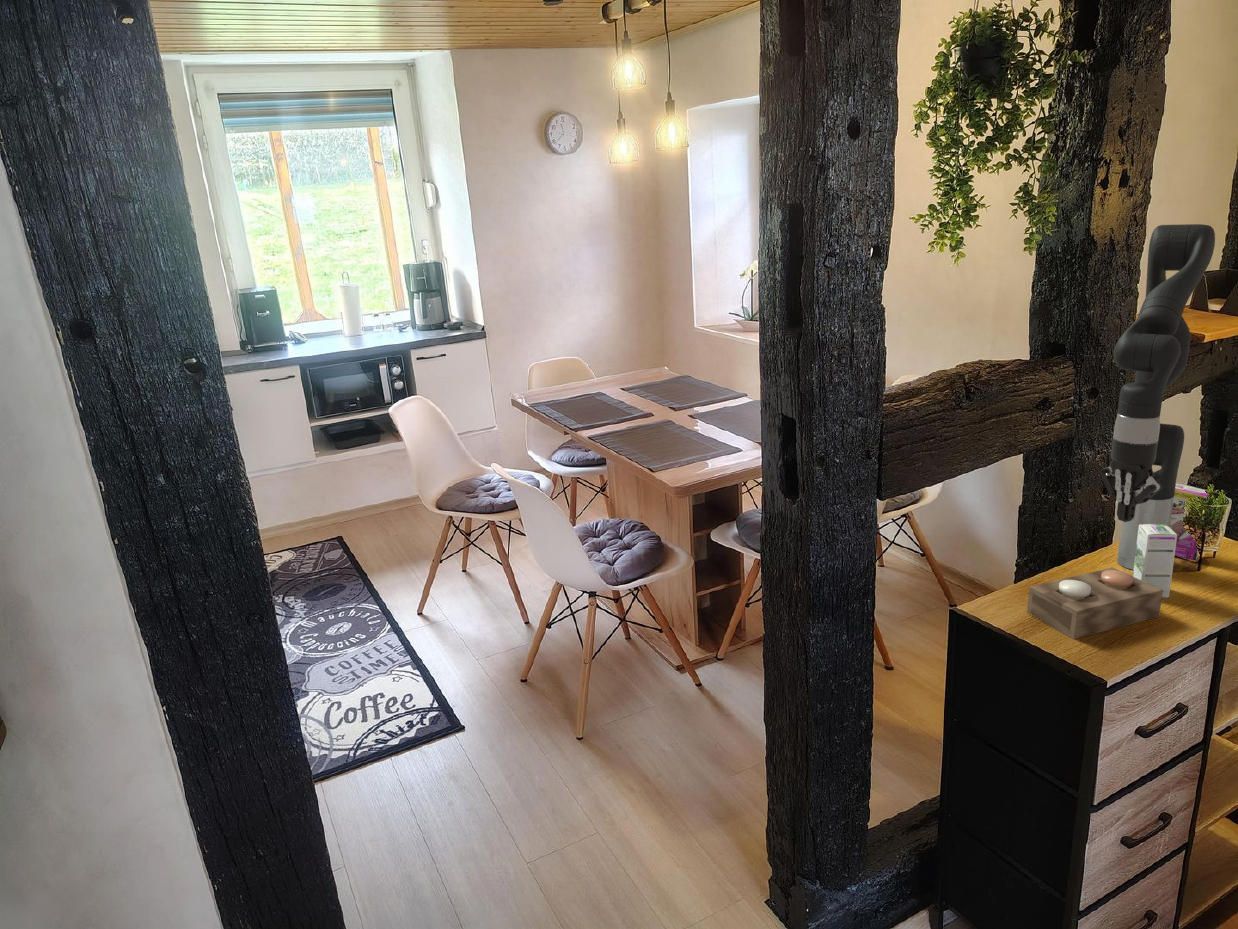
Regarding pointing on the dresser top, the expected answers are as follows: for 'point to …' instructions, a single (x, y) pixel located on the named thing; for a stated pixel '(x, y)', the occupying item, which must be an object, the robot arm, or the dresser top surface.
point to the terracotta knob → (1116, 579)
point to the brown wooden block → (1094, 605)
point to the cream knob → (1074, 589)
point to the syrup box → (1155, 556)
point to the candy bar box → (1184, 539)
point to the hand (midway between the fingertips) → (1124, 520)
